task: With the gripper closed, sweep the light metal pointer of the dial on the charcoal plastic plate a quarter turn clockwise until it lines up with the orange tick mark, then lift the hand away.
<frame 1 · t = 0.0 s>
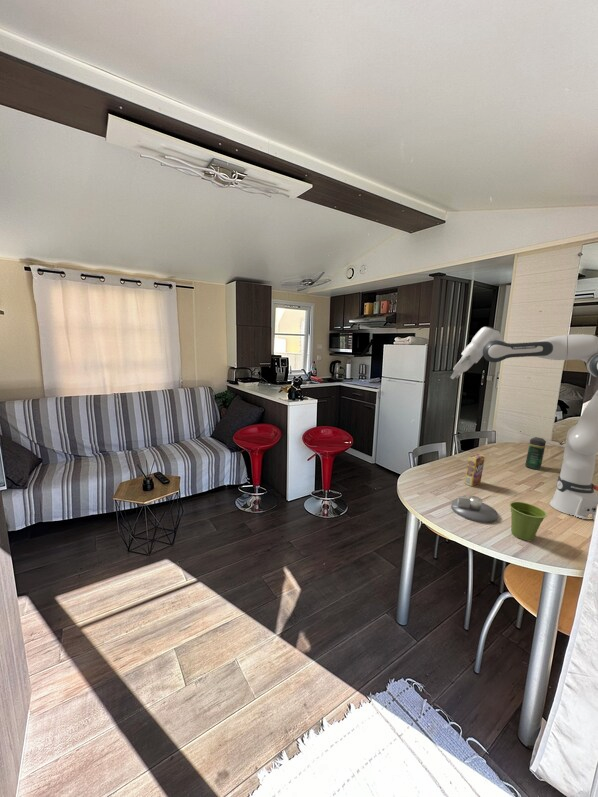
hand: (453, 377, 174), 54 cm above the table, tool tilted 30°, fingers open, 8 cm apart
dial plate: (473, 511, 145), on the table
candy box: (472, 483, 174), on the table
coffee jar: (532, 467, 203), on the table
plant pot: (522, 536, 128), on the table
dial: (469, 502, 144), point 4 cm above the table, hinge at 0.0°
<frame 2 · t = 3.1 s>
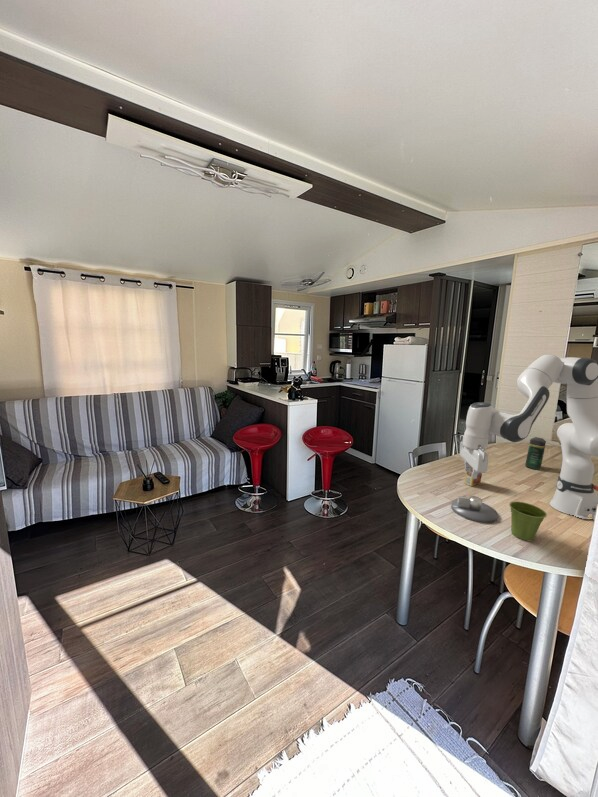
hand: (470, 474, 136), 19 cm above the table, tool pointing down, fingers open, 5 cm apart
nothing on the table moved.
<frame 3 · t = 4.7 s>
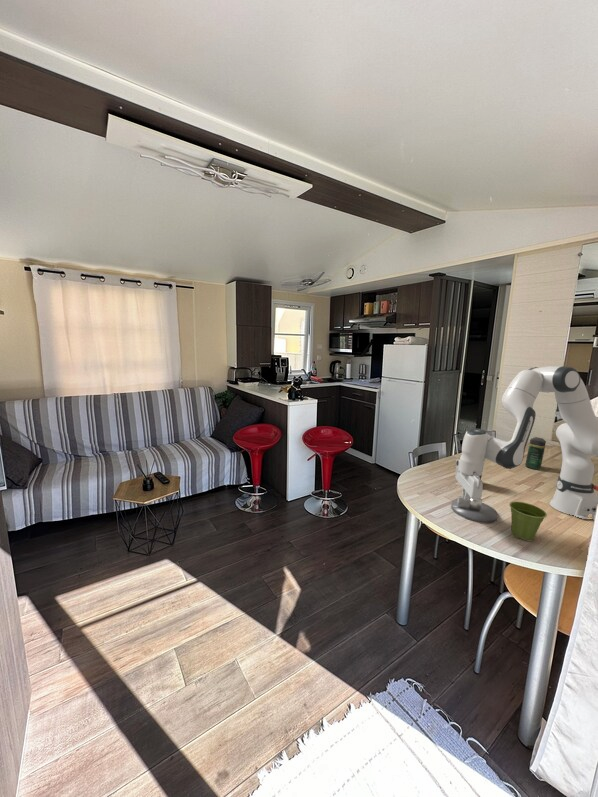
hand: (465, 499, 138), 8 cm above the table, tool pointing down, fingers closed
nothing on the table moved.
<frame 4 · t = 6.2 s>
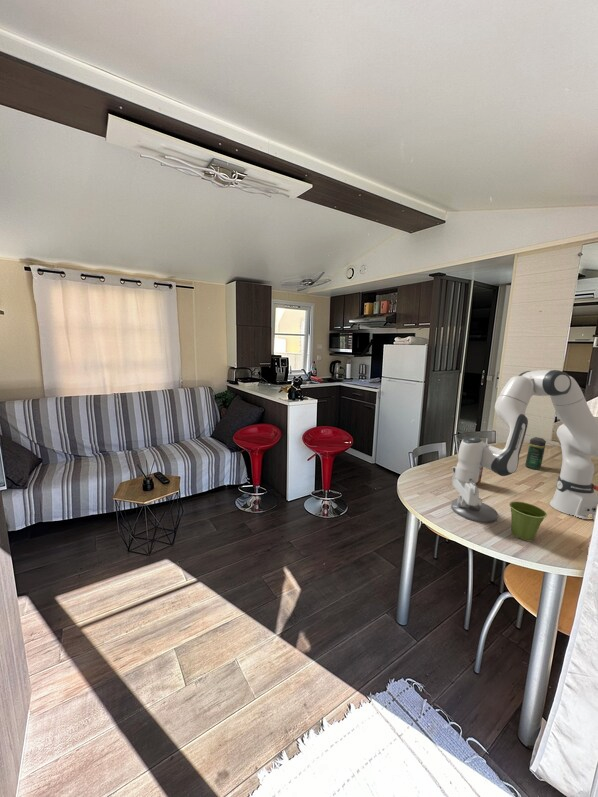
hand: (462, 505, 142), 4 cm above the table, tool pointing down, fingers closed
dial: (469, 502, 144), point 4 cm above the table, hinge at -0.6°, touching gripper
everything else where it was.
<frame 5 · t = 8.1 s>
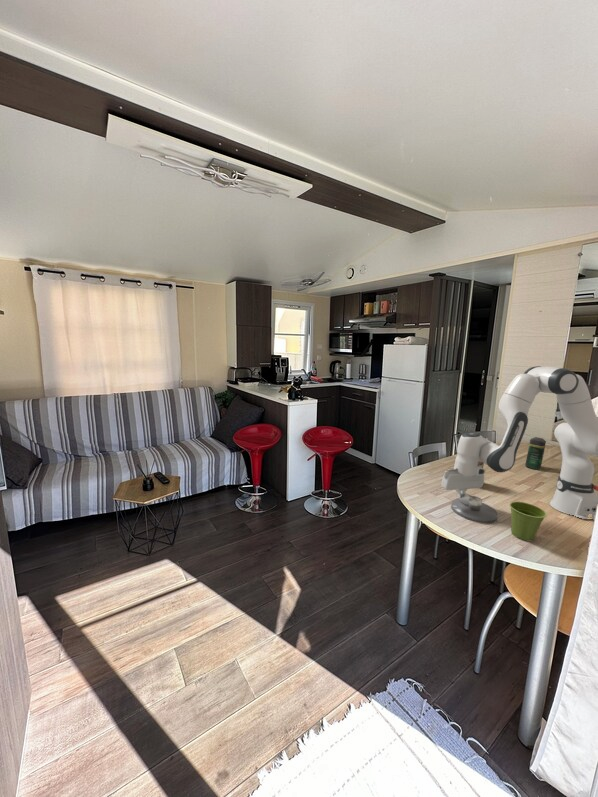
hand: (459, 497, 148), 4 cm above the table, tool pointing down, fingers closed
dial: (470, 500, 146), point 4 cm above the table, hinge at -56.3°, touching gripper
everything else where it was.
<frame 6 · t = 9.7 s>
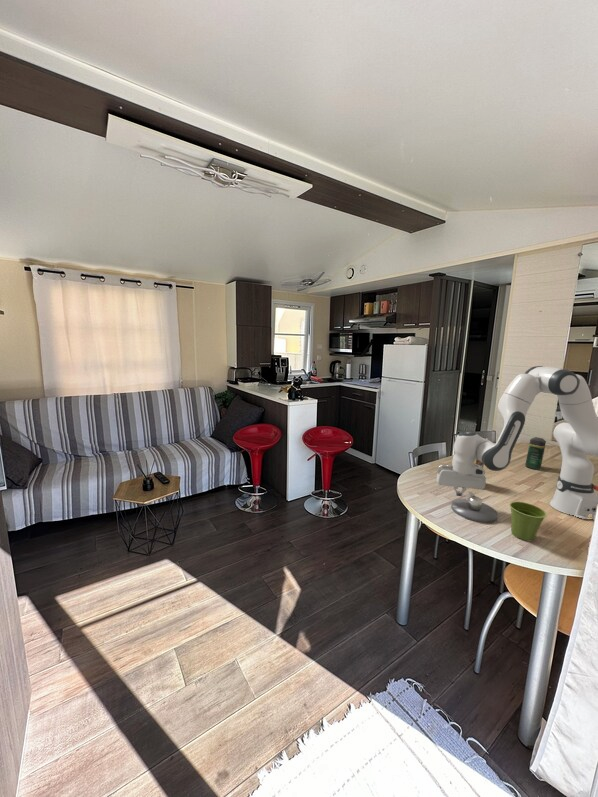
hand: (458, 495, 150), 4 cm above the table, tool pointing down, fingers closed
dial: (473, 500, 146), point 4 cm above the table, hinge at -90.2°
everything else where it was.
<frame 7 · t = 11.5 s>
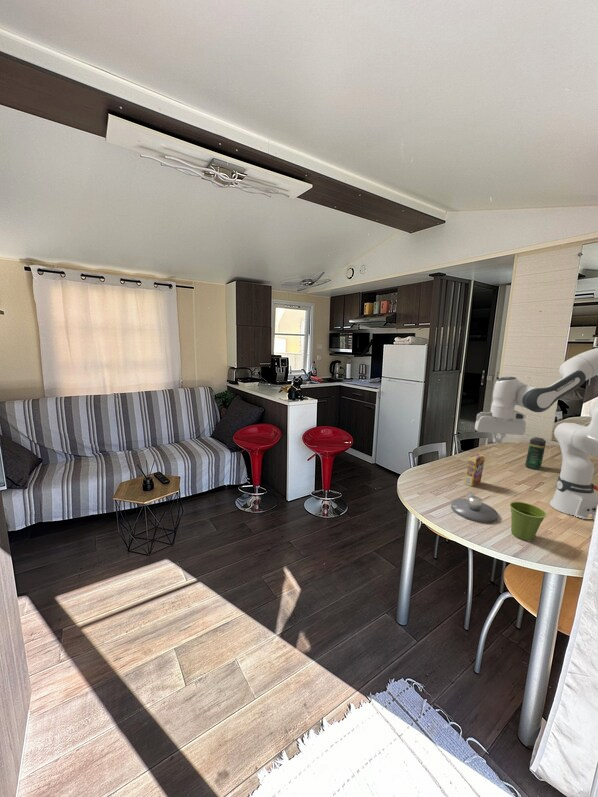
hand: (497, 442, 151), 29 cm above the table, tool pointing down, fingers closed
dial: (473, 500, 146), point 4 cm above the table, hinge at -90.7°
everything else where it was.
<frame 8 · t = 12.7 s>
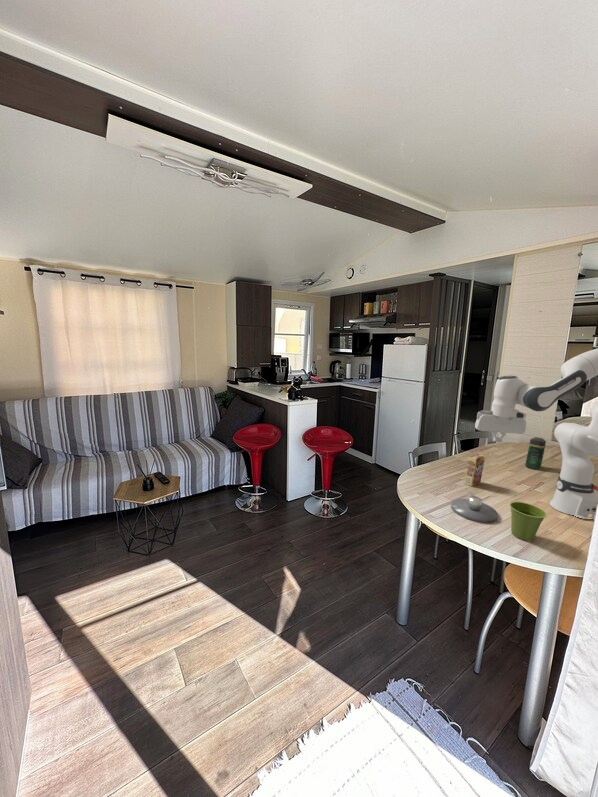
hand: (497, 441, 151), 29 cm above the table, tool pointing down, fingers closed
nothing on the table moved.
at the end: dial at -91° (first picture: +0°); plant pot moved 0.2 cm from its start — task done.
